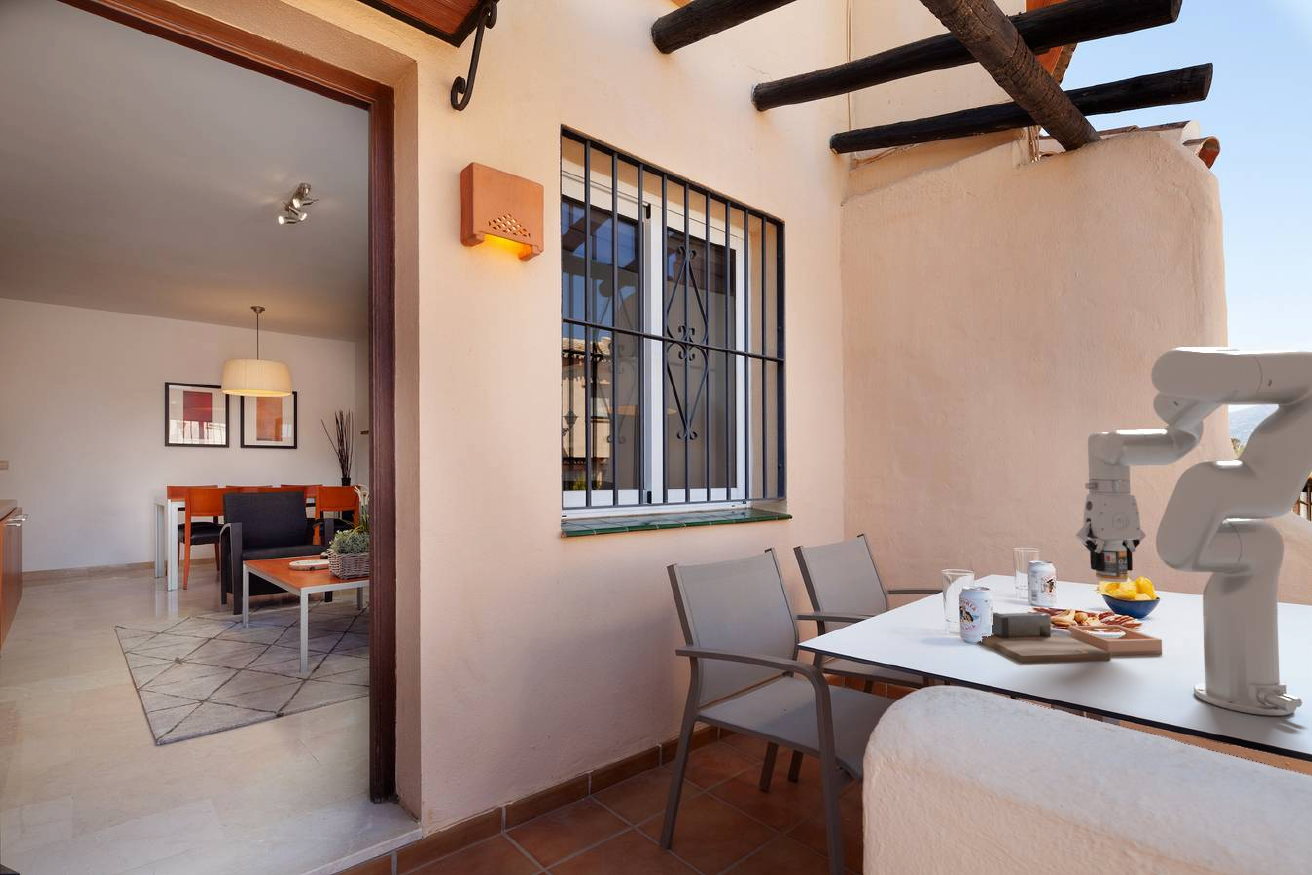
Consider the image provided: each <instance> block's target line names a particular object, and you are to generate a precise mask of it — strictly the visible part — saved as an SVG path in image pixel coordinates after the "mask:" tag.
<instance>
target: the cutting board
mask: <svg viewBox="0 0 1312 875" xmlns="http://www.w3.org/2000/svg"><path fill="white" fill-rule="evenodd" d="M990 634H991V636H988V637H987V636H982V638H983V639H982V643H981V644H984V646H987V647H988V648H991V649H992V650H994V651H997V652H999V653H1001V654H1003V655H1005V656H1006V657H1009V658H1011V659H1013V660H1015V661H1016V662H1019V663H1021V664H1030V663H1032V664H1034V663H1035V664H1037V663H1039V664H1040V663H1041V664H1042V663H1043V664H1044V663H1069V662H1071V663H1073V662H1076V663H1077V662H1100V661H1101V662H1102V661H1103V662H1104V661H1105V662H1106V661H1111V656H1110V653H1109V652H1106V651H1104V650H1101V649H1099V648H1096V647H1094V646H1091V645H1089V644H1086V643H1084V642H1081V641H1078V640H1076V639H1073V638H1071V637H1068V635H1065V634H1063V633H1061V632H1051V636H1009V638H1001V637H999V636H997V635H994V634H992V633H990Z"/></svg>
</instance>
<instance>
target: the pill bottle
mask: <svg viewBox="0 0 1312 875" xmlns="http://www.w3.org/2000/svg"><path fill="white" fill-rule="evenodd" d="M1122 543H1123V540H1105V541H1104V544H1103V547H1102V550H1101V553H1104V571H1097V570H1095V573H1096V576H1095V577H1096V579H1097V580H1098V581H1102V582H1108V583H1126V582H1128V579H1129V578H1128V576H1129V575H1128V573H1129V572H1128V570H1127V549H1126V548H1125V547H1124V546H1123V545H1122Z"/></svg>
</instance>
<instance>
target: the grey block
mask: <svg viewBox="0 0 1312 875" xmlns="http://www.w3.org/2000/svg"><path fill="white" fill-rule="evenodd" d="M992 613H993V625H992V633H991V634H994V635H997V636H999V637H1001V638H1009V636H1051V633H1052V619H1051V618H1052V615H1051V614H1050V613H1047V612H1044V611H1043V612H1042V611H1041V612H1039V611H1036V612H1035V611H1033V612H1018V613H1017V612H1014V613H1008V612H1007V613H999V612H992Z"/></svg>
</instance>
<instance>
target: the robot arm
mask: <svg viewBox="0 0 1312 875" xmlns="http://www.w3.org/2000/svg"><path fill="white" fill-rule="evenodd" d="M1150 377H1151V383H1152V385H1153V387H1154V388H1155V389H1156V391H1158V393H1157V394H1156V395H1155V396H1154V398H1153V403H1152V404H1153V410H1154V412H1155V413H1156V414H1157V416H1158V417H1159V419H1160V420H1162V421H1163V422H1164V423H1166V424H1168V425H1167V426H1166V427H1164V428H1162V429H1120V430H1119V429H1118V430H1112V431H1109V432H1107V431H1106V432H1105V431H1104V432H1094V433H1093V432H1092V433H1091V434H1090V435H1089V436H1088V438H1087V450H1088V452H1087V453H1088V457H1087V458H1088V482H1086V483H1085V485H1084V487H1085V489H1086V490H1088V491H1089V492H1088V493H1086V497H1085V501H1084V502H1085V503H1084V510H1083V526H1082V527H1081V529H1080V530H1078V532H1077V533H1076V535H1075V536H1076V537H1075V538H1076V539H1078V540H1079V541H1080V542H1081V543H1082V544H1083V546H1084V547H1085V548H1086V550H1087V551H1088V552H1089V555H1090V557H1089V558H1090V568H1091V570H1095V571H1096V570H1097V571H1104V553H1101V550H1102V547H1103V544H1104V541H1105V540H1123V543H1122V545H1123V546H1124V547H1125V548H1126V549H1127V571H1133V568H1134V567H1133V565H1134V564H1133V563H1134V562H1133V561H1134V560H1133V553H1135V552H1136V550H1137V549H1136V548H1137V547H1138V546H1140V543H1141V542H1142V541H1143V540H1144V539H1145V538H1146V534H1145V532H1144V531H1143V530H1142V529H1141V520H1140V512H1139V507H1138V503H1137V499H1136V496H1135V494H1132V493H1131V467H1132V466H1133V467H1134V466H1135V467H1137V466H1168V465H1171V464H1173V463H1177V462H1178V461H1180V460H1181V459H1183V458H1184V457H1186V456H1187V455H1188V454H1189V453H1191V452H1192V451H1193V450H1195V449H1196V448H1197V447H1198V446H1199V444H1200V443H1201V441H1202V437H1203V434H1204V426H1205V424H1204V420H1205V419H1206V418H1207V417H1210V415H1211V414H1212V413H1213V412H1215V411H1216V410H1217V409H1219V408H1220V407H1221V406H1222V405H1226V406H1227V405H1229V406H1232V405H1233V406H1234V405H1235V406H1236V405H1237V406H1239V405H1242V406H1243V405H1248V406H1249V405H1251V406H1252V405H1255V406H1256V405H1277V406H1278V408H1277V409H1276V410H1275V411H1274V412H1272V413H1271V414H1270V415H1268V416H1267V417H1266V418H1264V419H1263V420H1262V421H1261V422H1259V424H1258V425H1257V426H1256V427H1255V428H1254V429H1253V431H1252V432H1251V433H1250V435H1249V437H1248V439H1247V442H1246V445H1245V447H1244V449H1243V450H1242V452H1241V454H1240V455H1239V457H1237V458H1236V459H1233V460H1215V461H1214V460H1213V461H1211V460H1210V461H1204V462H1199V463H1196V464H1194V465H1192V466H1190V467H1188V468H1187V469H1186V470H1184V472H1183V473H1182V474H1181V475H1180V476H1179V478H1178V479H1177V481H1176V484H1174V488H1173V490H1172V492H1171V495H1170V497H1169V501H1168V503H1167V505H1166V508H1165V511H1164V513H1163V516H1162V518H1161V521H1160V523H1159V526H1158V529H1157V533H1156V540H1155V544H1156V545H1155V546H1156V547H1155V548H1156V552H1157V554H1158V557H1159V558H1160V560H1161V561H1162V563H1164V564H1165V565H1166V566H1168V568H1171V569H1173V570H1176V571H1180V572H1185V573H1211V574H1210V576H1209V578H1208V580H1207V581H1206V583H1205V585H1204V590H1203V593H1202V614H1203V615H1202V616H1203V618H1202V619H1203V647H1204V648H1203V650H1204V651H1203V652H1204V680H1205V681H1204V682H1199V683H1197V684H1195V685H1194V686H1193V693H1194V695H1195V696H1196V697H1197V698H1199V699H1201V700H1202V701H1204V702H1207V703H1209V704H1212V705H1214V706H1217V707H1220V708H1224V709H1228V710H1231V711H1236V712H1240V713H1244V714H1245V713H1247V714H1251V715H1252V714H1253V715H1261V716H1274V717H1275V716H1278V717H1279V716H1280V717H1281V716H1287V715H1290V714H1293V712H1295V711H1296V710H1297V708H1300V707H1301V706H1302V704H1303V701H1302V699H1301V698H1298V697H1297V696H1296V697H1295V696H1293V695H1289V694H1287V684H1285V683H1282V682H1281V681H1280V655H1279V651H1280V650H1279V649H1280V648H1279V624H1278V623H1279V621H1278V620H1279V618H1278V615H1279V613H1278V610H1279V609H1278V590H1279V589H1278V587H1279V577H1280V572H1281V568H1282V565H1283V560H1284V554H1285V543H1284V539H1283V536H1282V535H1281V533H1280V531H1279V529H1277V528H1276V527H1275V526H1274V525H1272V524H1271V523H1270V522H1267V521H1266V520H1263V519H1272V518H1273V519H1275V518H1279V517H1282V516H1285V515H1287V514H1288V513H1289V512H1290V511H1291V510H1292V509H1293V508H1294V507H1295V505H1296V503H1297V501H1298V500H1299V498H1300V496H1301V494H1302V492H1303V489H1304V488H1305V485H1306V483H1307V482H1308V479H1309V477H1310V476H1311V473H1312V351H1302V350H1267V351H1266V350H1263V351H1262V350H1259V351H1257V350H1256V351H1255V350H1251V351H1248V350H1247V351H1246V350H1245V351H1243V350H1239V349H1236V348H1231V347H1225V346H1224V347H1223V346H1218V347H1217V346H1214V347H1213V346H1210V347H1209V346H1208V347H1207V346H1204V347H1201V346H1200V347H1193V346H1192V347H1191V346H1190V347H1188V346H1187V347H1177V348H1172V349H1170V350H1168V351H1166V352H1164V353H1163V354H1162V355H1161V356H1159V357H1158V358H1157V360H1156V361H1155V362H1154V364H1153V366H1152V369H1151V374H1150Z"/></svg>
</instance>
